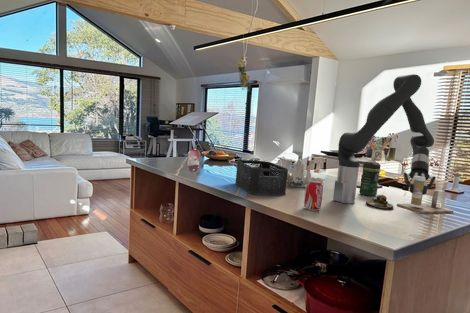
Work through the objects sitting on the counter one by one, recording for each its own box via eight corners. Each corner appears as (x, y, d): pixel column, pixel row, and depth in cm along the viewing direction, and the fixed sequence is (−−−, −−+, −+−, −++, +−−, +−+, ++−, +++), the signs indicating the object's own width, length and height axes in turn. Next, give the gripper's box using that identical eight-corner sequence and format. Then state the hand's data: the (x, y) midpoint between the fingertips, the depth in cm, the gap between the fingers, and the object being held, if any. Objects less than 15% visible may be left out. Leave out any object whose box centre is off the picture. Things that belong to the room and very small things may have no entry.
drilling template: (422, 213, 145) (425, 194, 144) (396, 205, 158) (399, 187, 157) (453, 212, 153) (455, 194, 152) (426, 205, 166) (428, 187, 165)
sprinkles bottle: (409, 204, 153) (413, 175, 151) (411, 202, 156) (415, 175, 155) (420, 206, 150) (424, 177, 149) (422, 205, 153) (426, 176, 152)
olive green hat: (360, 204, 156) (362, 188, 155) (378, 203, 161) (380, 188, 160) (380, 211, 145) (382, 194, 144) (399, 210, 150) (401, 194, 149)
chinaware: (326, 190, 193) (330, 162, 192) (317, 191, 178) (322, 161, 178) (283, 182, 208) (287, 156, 207) (272, 182, 194) (276, 155, 193)
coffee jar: (370, 197, 175) (375, 162, 173) (357, 193, 181) (361, 160, 179) (379, 195, 181) (383, 162, 179) (365, 192, 187) (369, 160, 185)
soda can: (311, 211, 132) (314, 182, 131) (299, 207, 138) (302, 179, 137) (324, 211, 135) (327, 182, 134) (312, 206, 141) (315, 179, 140)
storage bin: (288, 195, 160) (290, 169, 159) (251, 195, 154) (253, 167, 153) (265, 184, 187) (267, 161, 186) (233, 183, 182) (235, 159, 180)
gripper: (404, 158, 161) (401, 185, 151) (438, 162, 155) (437, 190, 145) (403, 168, 166) (399, 195, 157) (435, 171, 160) (434, 200, 150)
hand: (417, 192), depth 151 cm, fingers closed on sprinkles bottle, 4 cm apart
